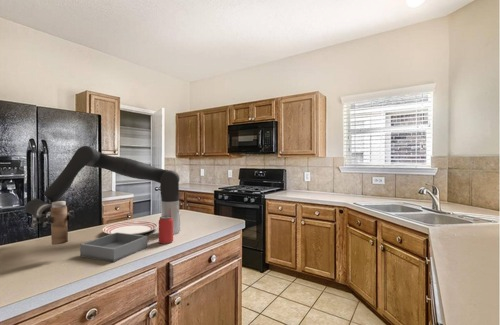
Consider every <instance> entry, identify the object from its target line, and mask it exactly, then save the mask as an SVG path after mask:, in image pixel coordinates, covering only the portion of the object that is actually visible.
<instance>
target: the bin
mask: <svg viewBox="0 0 500 325" xmlns="http://www.w3.org/2000/svg"><path fill="white" fill-rule="evenodd" d="M79 244H80V246H79V249H80V253H79V254H80V258H81V257H82V258H89V259H94V260H99V261H105V262H110V263H115V262H118V261H120V260H123V259H125V258H127V257H130V256H131V255H134V254H135V253H138V252H141V251H142V250H145V249H146V248H147V249H148V244H149V243H148V235H143V234H142V235H134V234H126V233H118V232H116V233H113V234H110V235H109V234H106V235H104V236H102V237H98V238H95V239H92V240H88V241H85V242H82V243H79Z"/></svg>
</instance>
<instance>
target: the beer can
mask: <svg viewBox="0 0 500 325" xmlns="http://www.w3.org/2000/svg"><path fill="white" fill-rule="evenodd" d="M158 219H159V220H158V242H159V244H161V245H165V244H166V245H167V244H171V243H173V242H174V234H173V219H172V216H162V217H161V216H160V217H159V218H158Z"/></svg>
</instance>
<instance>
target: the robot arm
mask: <svg viewBox="0 0 500 325" xmlns="http://www.w3.org/2000/svg"><path fill="white" fill-rule="evenodd" d="M74 152H75V153H73V156H72V157H71V159H70V160H69V161H68V163H67V165H66V166H65V167H64V168H63V170H62V171H61V173H60V174H59V175H58V176H57V178H55V180H54V181H53V182H52V183H51V184H50V185H49V186H48V187H47V188H46V189H45V191H44V192H43V195H44V197H45V198H47V199H48V200H49V203H48V202H46V201H43V200H41V199H39V198H34V199H30V200H29V201H28V202H27V203H26V205H25V212H26V213H28V214H29V215H32V220H33V223H37V224H43V223H45V224H48V225H51V223H53V217H51V207H52V202H58V201H61V198H62V197H63V196H64V195H65V194H66V192H67V191H68V190H69V189H70V187H71V186H72V184H73V182H74V181H75V179H76V177H77V175H78V174H79V173H80V172H81V171H82V169H83V168H84V167H91V168H98V169H103V170H107V171H109V172H112V173H115V174H118V175H121V176H124V177H128V178H130V179H131V178H133V179H137V180H146V181H152V182H156V183H159V184H160V186H159V187H160V201H161V202H160V203H161V204H160V205H161V206H160V207H161V208H160V209H161V212H160V214H161V216H160V217H162V216H172V219H173V235H177V234H179V233H180V231H181V213H180V191H179V190H180V189H179V187H180V186H179V185H180V184H179V182H180V179H181V178H180V175H179V174H178V173H177V172H176V171H175V170H170V169H163V168H160V167H159V168H158V167H155V166H152V165H150V164H148V163H144V162H141V161H138V160H135V159H131V158H127V157H121V156H120V157H119V156H111V155H109V154H105V153H102V152H100V151H97V150H96V149H95V148H94V147H91V146H89V145H82V146H80V147H78V149H76V150H75V151H74ZM74 218H75V211H74V210H73V209H71V210H68V211H67V221H72V219H74Z"/></svg>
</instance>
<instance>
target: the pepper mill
mask: <svg viewBox="0 0 500 325" xmlns="http://www.w3.org/2000/svg"><path fill="white" fill-rule="evenodd" d="M67 212H68V205H67V204H66V200H59V201H58V202H52V207H51V217H53V223H51V224H50V226H51V227H50V229H51V230H50V232H51V245H63V244H66V243H67V242H69V233H68V231H69V228H68V226H69V225H68V220H67Z"/></svg>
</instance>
